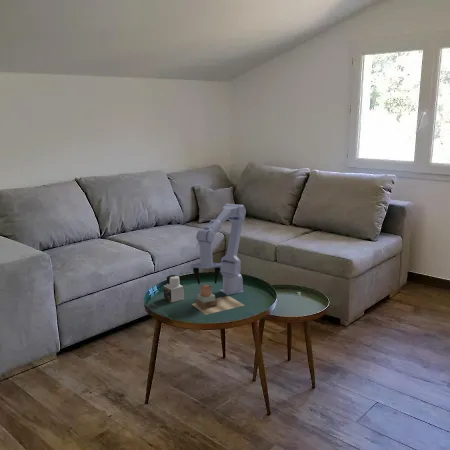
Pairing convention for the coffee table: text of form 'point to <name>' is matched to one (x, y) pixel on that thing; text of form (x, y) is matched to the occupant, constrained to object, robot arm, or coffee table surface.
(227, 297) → the board
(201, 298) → the tower top
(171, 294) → the medicine bottle
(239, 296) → the coffee table surface
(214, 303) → the tower base
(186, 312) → the coffee table surface
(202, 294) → the cylinder
